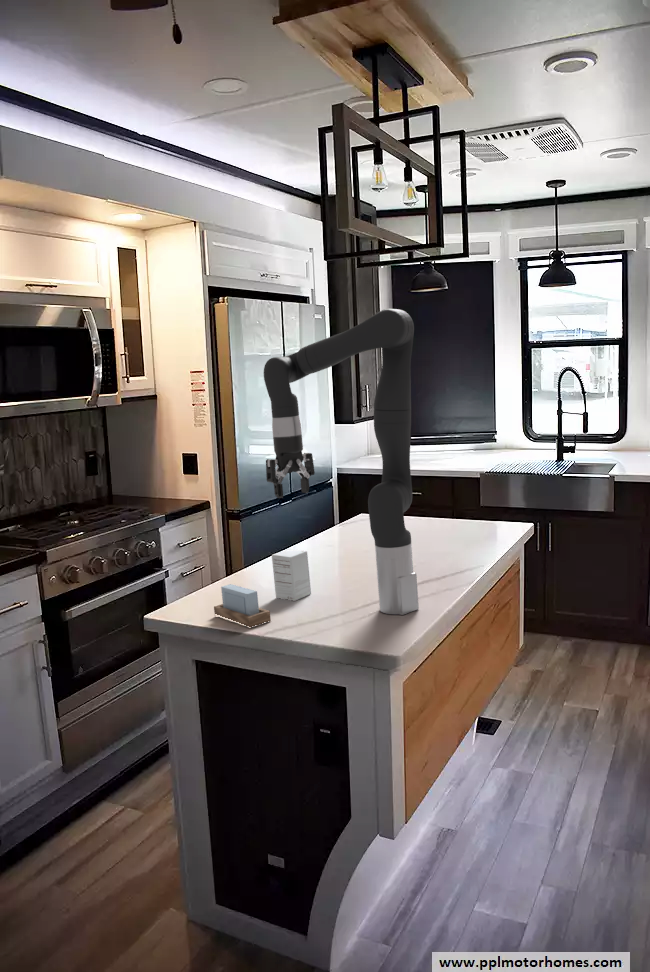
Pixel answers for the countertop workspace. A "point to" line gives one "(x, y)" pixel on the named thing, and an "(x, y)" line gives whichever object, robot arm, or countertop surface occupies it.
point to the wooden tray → (243, 616)
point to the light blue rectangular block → (240, 599)
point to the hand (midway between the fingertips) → (292, 495)
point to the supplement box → (291, 574)
